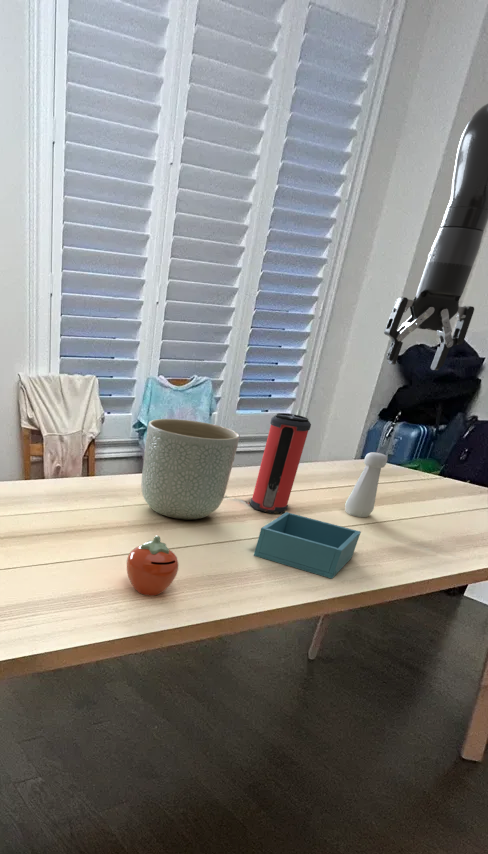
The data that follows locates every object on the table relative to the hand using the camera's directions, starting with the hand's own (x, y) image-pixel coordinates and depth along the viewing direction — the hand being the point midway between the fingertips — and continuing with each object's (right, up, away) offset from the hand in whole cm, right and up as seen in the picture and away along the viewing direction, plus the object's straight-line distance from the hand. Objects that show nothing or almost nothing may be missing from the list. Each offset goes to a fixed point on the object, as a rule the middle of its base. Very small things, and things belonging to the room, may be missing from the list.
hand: (412, 366), depth 120 cm
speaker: (-24, -22, +14) cm, 35 cm away
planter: (-44, -26, +5) cm, 51 cm away
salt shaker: (-4, -24, +16) cm, 29 cm away
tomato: (-53, -48, -29) cm, 77 cm away
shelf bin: (-24, -39, -9) cm, 46 cm away
